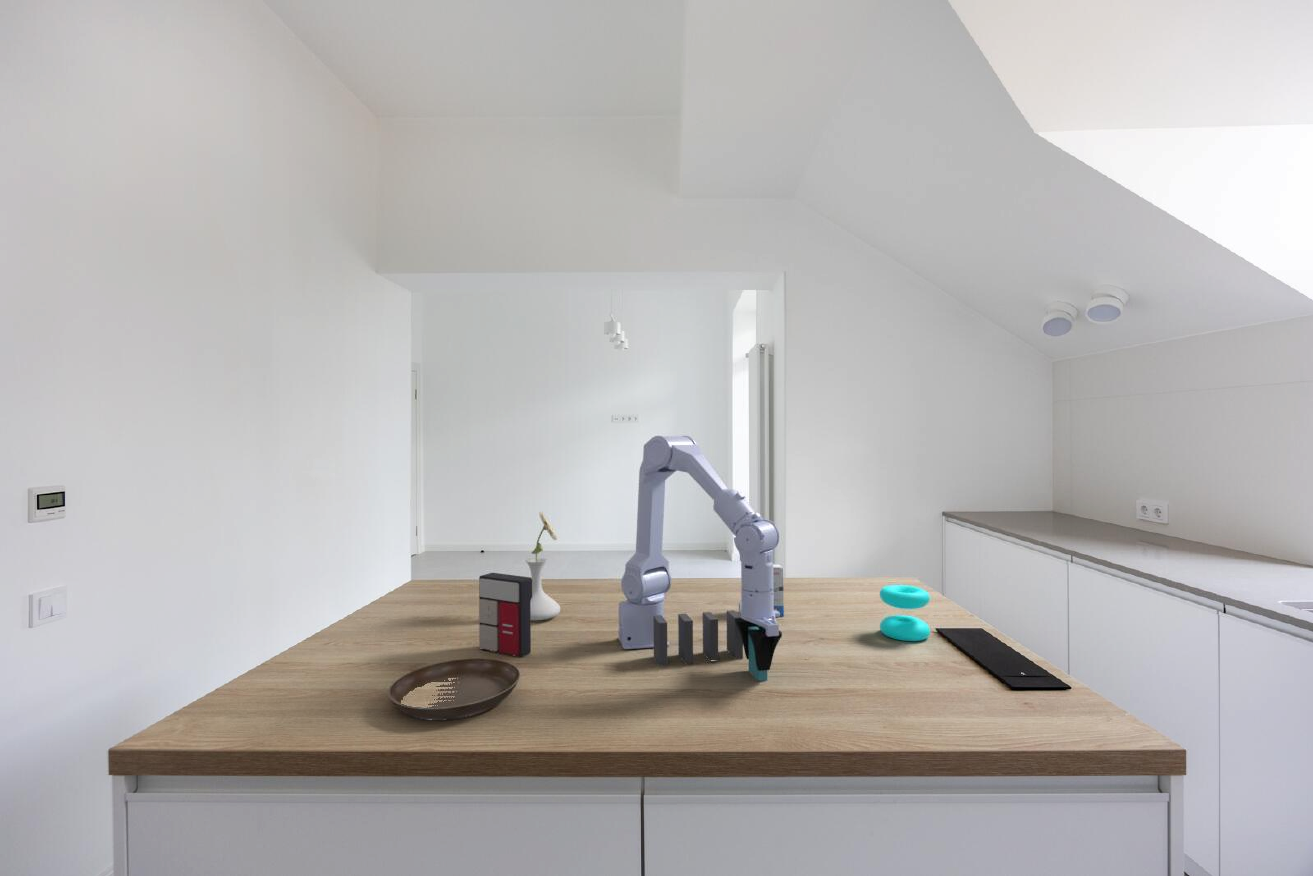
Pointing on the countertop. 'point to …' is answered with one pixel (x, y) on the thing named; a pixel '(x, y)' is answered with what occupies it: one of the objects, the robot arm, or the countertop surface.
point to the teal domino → (752, 662)
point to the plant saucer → (458, 687)
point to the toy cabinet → (505, 613)
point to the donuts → (902, 624)
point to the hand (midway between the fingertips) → (757, 664)
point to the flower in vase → (540, 601)
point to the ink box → (778, 589)
